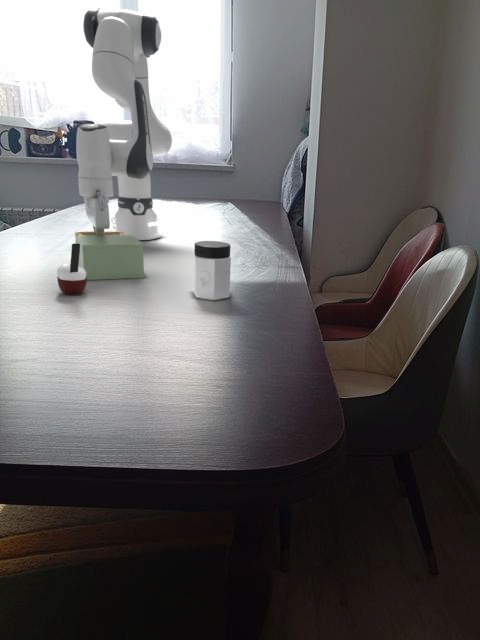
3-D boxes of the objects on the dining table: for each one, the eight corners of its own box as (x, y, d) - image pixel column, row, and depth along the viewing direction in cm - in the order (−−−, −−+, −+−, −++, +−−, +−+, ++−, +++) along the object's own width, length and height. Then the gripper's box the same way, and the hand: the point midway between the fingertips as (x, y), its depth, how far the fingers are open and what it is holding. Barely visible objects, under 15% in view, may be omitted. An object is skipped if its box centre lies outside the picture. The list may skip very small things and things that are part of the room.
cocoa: (61, 287, 119) (57, 235, 115) (89, 287, 120) (86, 236, 116) (54, 299, 110) (49, 243, 106) (85, 299, 112) (81, 243, 107)
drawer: (75, 252, 152) (73, 229, 150) (121, 251, 158) (120, 228, 155) (81, 265, 137) (79, 239, 135) (132, 263, 143) (131, 239, 140)
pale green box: (78, 267, 139) (76, 235, 136) (133, 265, 145) (132, 234, 142) (84, 280, 127) (82, 245, 123) (144, 277, 132) (143, 244, 129)
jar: (186, 296, 118) (186, 244, 113) (201, 288, 125) (201, 239, 121) (222, 302, 116) (224, 248, 111) (235, 293, 123) (237, 243, 118)
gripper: (114, 193, 131) (116, 247, 136) (103, 186, 148) (105, 234, 153) (88, 192, 128) (91, 247, 133) (79, 185, 146) (83, 235, 151)
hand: (99, 240), depth 143 cm, fingers closed on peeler, 2 cm apart
